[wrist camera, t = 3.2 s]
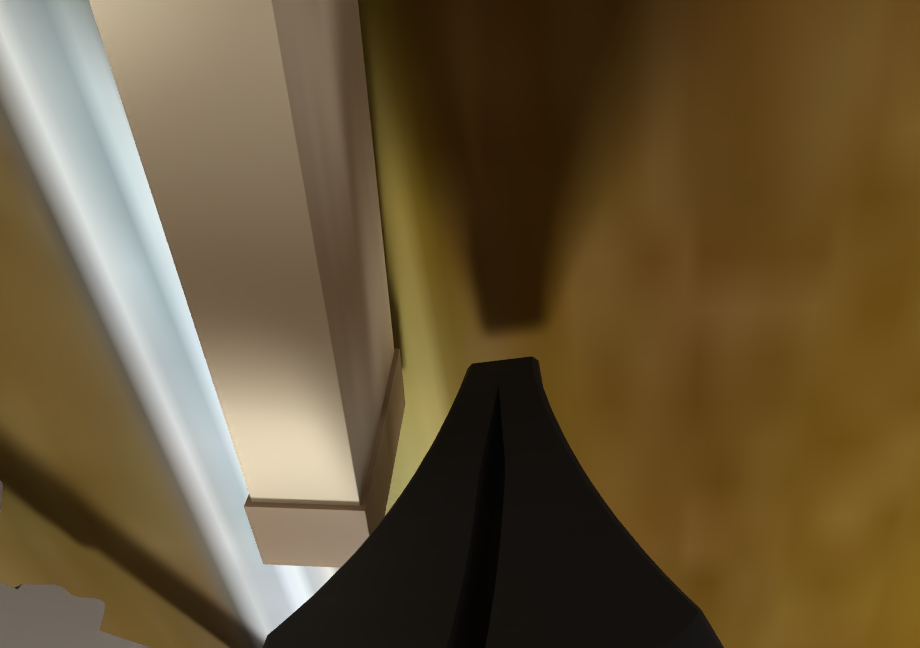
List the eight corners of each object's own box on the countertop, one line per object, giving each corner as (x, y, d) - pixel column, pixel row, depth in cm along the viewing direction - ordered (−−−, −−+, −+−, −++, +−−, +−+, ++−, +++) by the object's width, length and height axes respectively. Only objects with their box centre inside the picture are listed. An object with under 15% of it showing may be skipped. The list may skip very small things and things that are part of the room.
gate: (185, -252, 8) (-30, -304, 5) (341, -257, 8) (224, -316, 5) (318, 401, 15) (263, 563, 12) (405, 403, 15) (374, 568, 12)
